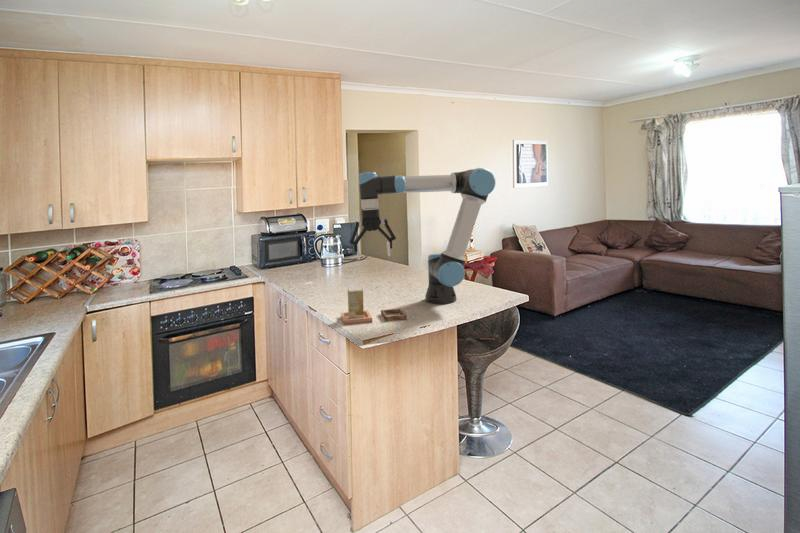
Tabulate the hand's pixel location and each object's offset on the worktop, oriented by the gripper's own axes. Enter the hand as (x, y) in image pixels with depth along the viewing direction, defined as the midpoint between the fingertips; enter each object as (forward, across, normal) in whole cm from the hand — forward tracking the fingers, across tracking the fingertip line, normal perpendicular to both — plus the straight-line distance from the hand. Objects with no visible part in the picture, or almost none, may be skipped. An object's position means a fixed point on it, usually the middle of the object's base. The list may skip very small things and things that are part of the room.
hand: (374, 257), depth 190 cm
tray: (+24, +11, +7) cm, 28 cm away
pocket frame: (+25, -5, +9) cm, 27 cm away
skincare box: (+24, +11, +7) cm, 27 cm away
